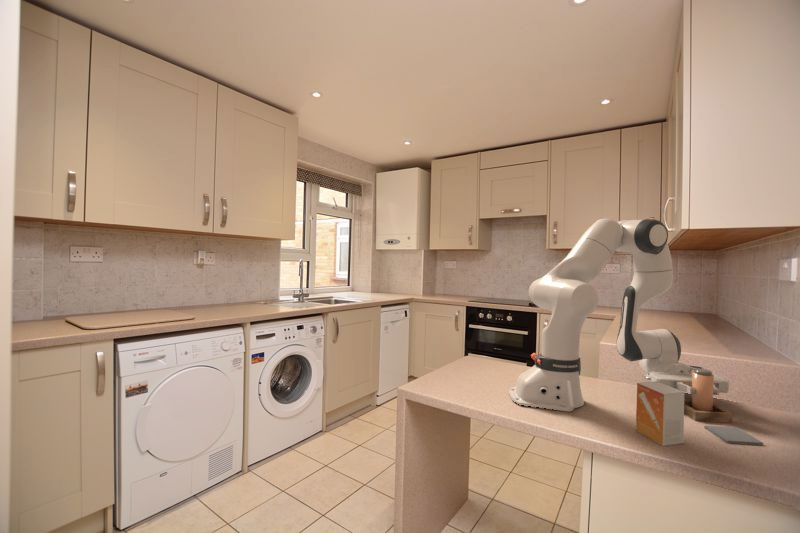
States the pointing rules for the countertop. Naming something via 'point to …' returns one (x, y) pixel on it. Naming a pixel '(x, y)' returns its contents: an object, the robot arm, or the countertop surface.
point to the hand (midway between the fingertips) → (704, 391)
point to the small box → (660, 412)
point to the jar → (702, 390)
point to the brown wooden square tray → (707, 413)
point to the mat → (733, 435)
